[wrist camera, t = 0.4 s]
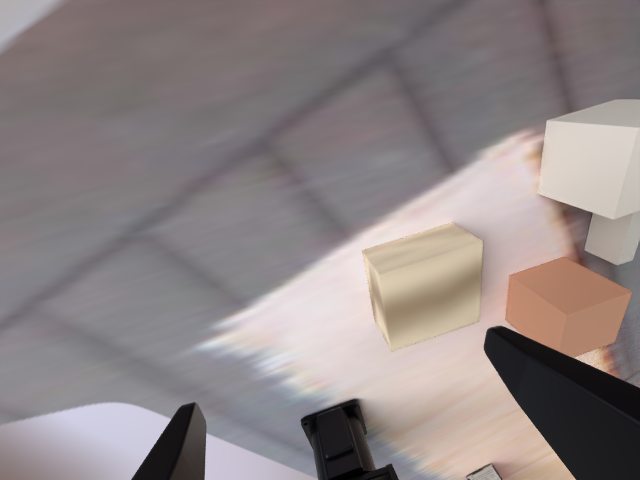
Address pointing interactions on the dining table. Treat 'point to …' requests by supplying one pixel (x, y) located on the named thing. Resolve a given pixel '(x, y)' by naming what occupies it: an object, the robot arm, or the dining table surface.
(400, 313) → the base block
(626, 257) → the plinth
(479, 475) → the candy bar box
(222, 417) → the dining table surface
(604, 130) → the offwhite cube
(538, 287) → the terracotta cube
